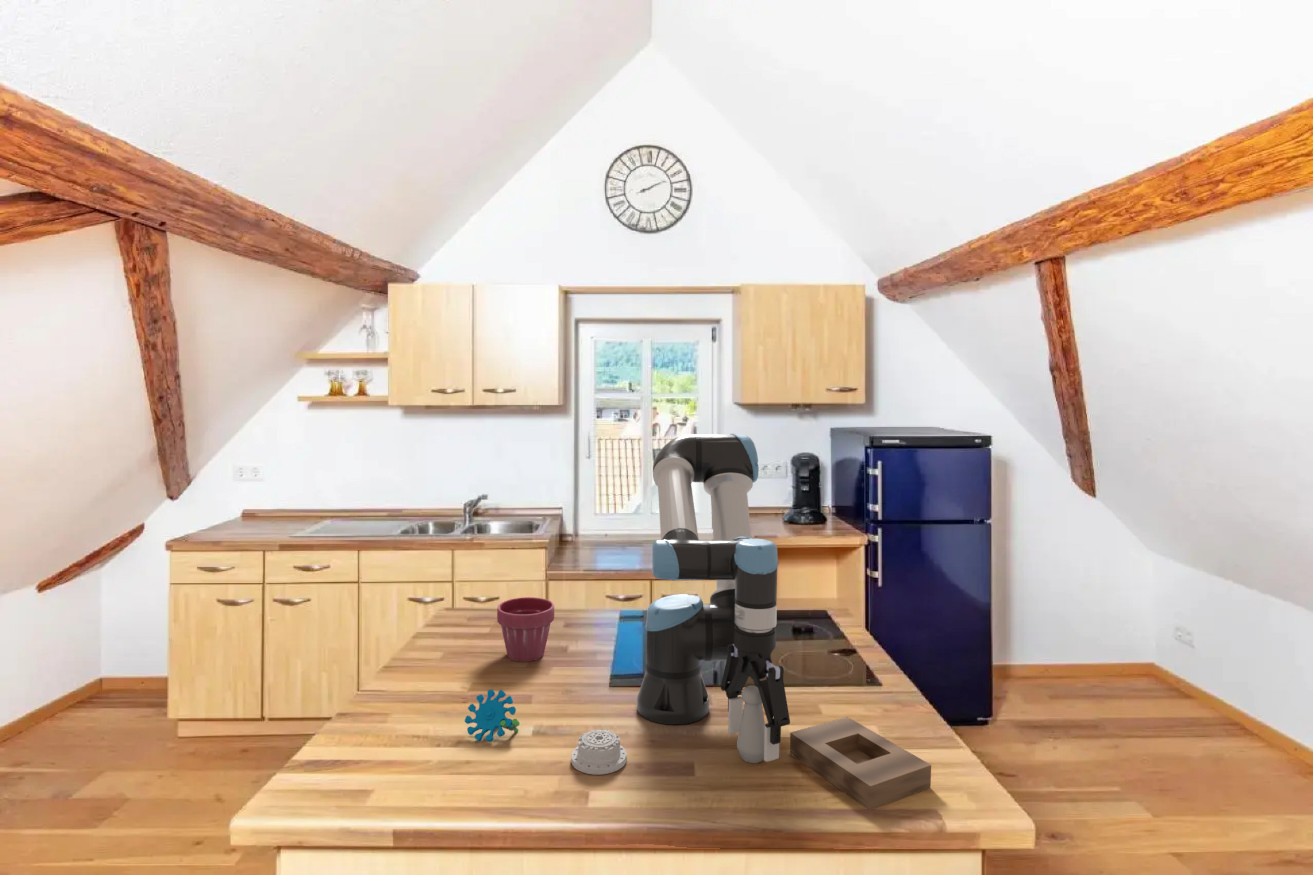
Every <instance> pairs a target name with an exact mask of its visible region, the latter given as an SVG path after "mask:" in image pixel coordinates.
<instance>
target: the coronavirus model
mask: <svg viewBox="0 0 1313 875" xmlns="http://www.w3.org/2000/svg"><path fill="white" fill-rule="evenodd" d="M495 695H496V691H495V690H494V689H488V690H487V698H486V700H485V696H484V694H478V695H477V696H476V697H475V698H476V700H477V702H478V709H477V707H476V705H475V704H473V703H471V704H470V705H468V707H467V710H468V711H469V712H470V713H473V714H475V717H474V718H472V717H471V716H470V715H466V716H465V719H464V722H465V724H467V725H469V724H473V723H474V724H476V725H475V726H467V731H466V732H467V734H468V735H469V736H472V735H474V736H473V737H474V738H475V740H476V741H477V742H478V743H479V742H482V740H483V738H484V736H485V735H486V733H488V732H489V733H488V734H487V735H486V736H485V738H484V739H485V741H486V742H489V743H490V742H491V743H493V741H494V740H495V738H494V733H495V731H496V729H497V728H498V729H497V732H496V735H497V736H498V738H501V737H503V736H505V734H506V732H505V730H504V729H506V730H508V731H511V732H513V731H514V733H516V734H517V733H518V732H519V729H518V728H517V727H519V726H520V721H519V720H518V718H513V719H511V718H508V717H507V716H506V713H507V712H509V713H510V715H512V716H514V715H515V714H516V711H517V708H516V707H515V706H510V707H505V706H504V705H506V704H508V705H512V704H513V703H514V698H513V696H511V695H508V696H507V697H506V695H507V694H506V693H505V691H504V690H502V689H500V690H499V691H498V693H497V695H496V696H495ZM494 696H495V697H494ZM493 697H494V698H493ZM505 697H506V698H505ZM492 698H493V699H492ZM502 698H505V699H503V700H500V699H502ZM484 700H485V702H484ZM499 700H500V701H499ZM476 709H477V710H476ZM479 730H481V732H478V731H479ZM476 732H478V733H476ZM474 733H476V734H474Z"/></svg>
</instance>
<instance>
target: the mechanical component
mask: <svg viewBox="0 0 1313 875" xmlns="http://www.w3.org/2000/svg"><path fill="white" fill-rule="evenodd" d="M577 742H578V745H577V746H576V747H575V748H574V749H573V750H572V752H571V754H570V755H571V760H570V761H571V765H572V767H573V768H574V769H576V770H577V771H579V772H582V773H584V774H589V775H592V776H593V775H599V776H600V775H608V774H611V773H614V772H616V771H619V770H620V769H622V768H623V767H624V766H625V764H626V763H627V759H628V757H627V756H628V754H627V750H626V749H625V748H624V747H623V746H622V745H621V738H620V736H619V734H616V733H614V731H613V730H608V729H605V730H604V728H601V729H599V730H598V729H597V730H594V729H591V730H590V731H589V732H583V733H582V734H581V735H579V737H578V741H577Z"/></svg>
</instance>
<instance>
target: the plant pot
mask: <svg viewBox="0 0 1313 875" xmlns="http://www.w3.org/2000/svg"><path fill="white" fill-rule="evenodd" d="M496 609H497V611H496V614H497V615H496V621H497V624H499V625H500V627H501V632H502V636H503V641H504V646H505V650H506V654H507V658H509V659H510V660H512V661H516V662H533V661H536V660H539V659H541V658H542V657H544V654H545V650H546V646H547V643H548V637H549V634H550V633H549V632H550V627H551V623H553V621H554V620H555V604H554V602H553V601H552V600H549V599H546V598H541V597H531V596H528V597H525V596H524V597H516V598H510V599H507V600H504V601H502V602H501V603H499V604H497V608H496Z"/></svg>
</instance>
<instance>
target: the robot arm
mask: <svg viewBox="0 0 1313 875" xmlns="http://www.w3.org/2000/svg"><path fill="white" fill-rule="evenodd" d="M759 469H760V467H759V458H758V452H757V448H756V444H755V443H754V441H753V439H752V438H751V437H749V436H748V435H744V434H735V433H730V434H709V433H708V434H706V433H705V434H701V433H700V434H698V433H697V434H695V433H688V434H683V435H679V436H677V437H675V438H674V439H672V440H670V441H668V443H666V444H665V445H664V446H663V447H662V448H661V449H660V451H659V452H658V453H657V455H656V457H655V459H654V461H653V466H652V478H653V479H652V480H653V482H654V483H655V485H656V486H657V492H658V493H657V494H658V495H657V496H658V508H659V509H658V511H659V530H660V540H659V539H658V540H654V542H653V543H652V546H651V548H652V549H651V553H652V554H651V555H652V556H651V564H652V565H651V566H652V569H651V571H652V575H653V577H654V578H655V579H658V580H670V581H693V580H695V581H697V580H699V581H700V580H702V581H703V580H704V581H705V580H706V581H707V580H710V581H712V580H713V581H715V583H716V585H715V587H716V589H715V590H714V591H713V592H712V594H710V596H709V603H704V601H703V599H702V598H701V597H700V596H698V595H696V594H689V593H680V594H679V593H677V594H672V595H666V596H663V597H661V598H658V599H656V600H654V601H653V602H651V603H650V604H649V606H648V608H647V610H646V622H645V626H644V627H645V630H646V635H645V636H646V639H645V641H646V642H645V643H646V644H645V645H646V646H645V647H646V648H645V673H644V676H643V679H642V681H641V684H640V688H639V691H638V693H637V699H636V701H637V702H636V703H637V704H636V710H637V713H639V715H640V716H641V717H643V718H644V719H646V720H649V721H651V722H653V723H657V724H665V725H685V724H691V723H694V722H695V723H696V722H698V721H700V720H702V719H703V718H705V717H706V716H707V715H708V714H709V712H710V711H709V710H710V698H709V694H708V691H707V688H706V684H705V682H704V681H705V680H704V677H703V675H702V662H725V665H724V669H723V675H722V678H721V679H722V680H721V683H720V690H721V691H722V692H725V695H726V697H727V712H728V713H727V714H728V715H727V716H728V717H727V718H728V720H727V721H728V722H727V725H728V727H727V730H728V731H727V733H728V734H729V735H734V734H737V733H738V734H739V730H740V725H741V720H742V715H743V710H744V706H743V705H744V701H743V700H742V691H743V689H744V688H745V685H746V683H747V681H748V679H749V678H750V679H751V680H753V683H754V684H753V685H755V686H756V687H758V690H759V693H760V697H761V700H762V708H763V712H764V714H765V717H766V721H767V722H765V735H764V760H763V761H764V762H766V763H767V762H771V761H775V760H777V759H779V758H780V743H781V741H782V736H781V735H782V727H785V726H789V725H790V723H791V720H790V719H791V718H790V714H789V712H790V711H789V707H788V702H787V701H788V700H787V695H786V688H785V683H784V670H785V669H784V667H783V666H782V665H775V664H774V663H773V660H772V656H771V655H772V652H773V651H774V650H775V649H776V646H777V644H776V642H777V629H776V626H777V621H778V620H777V616H778V615H777V612H778V611H777V609H778V608H777V606H778V605H777V600H778V599H777V598H778V597H777V592H778V591H777V590H778V588H777V587H778V566H779V558H778V547H777V544H776V543H774V542H773V541H770V540H768V539H763V538H752V531H751V530H752V529H751V521H750V520H751V518H750V508H749V499H748V493H749V492H750V491H751V490H752V489H753V486H754V483H756V482H757V480H758V477H759ZM692 483H703V489H704V491H705V492H706V494H708V495H709V496H710V504H711V522H712V535H713V536H712V537H713V540H707V539H705V540H699V532H698V526H697V519H696V511H695V503H694V496H693V495H694V494H693V488H692ZM765 678H766V679H765ZM763 679H764V680H763Z"/></svg>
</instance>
